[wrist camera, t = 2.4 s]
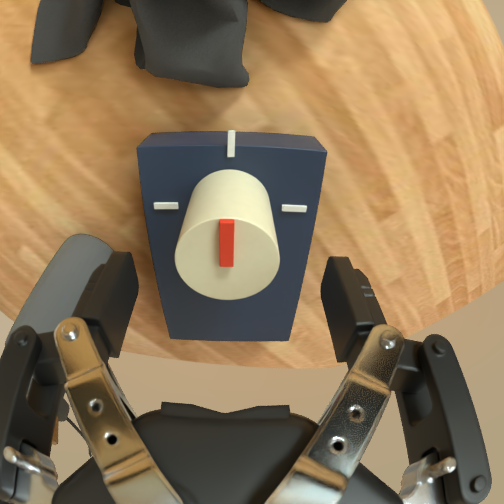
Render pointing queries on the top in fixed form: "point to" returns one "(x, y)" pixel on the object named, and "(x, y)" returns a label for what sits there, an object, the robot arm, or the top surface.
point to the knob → (228, 237)
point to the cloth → (169, 34)
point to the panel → (283, 211)
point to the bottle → (62, 293)
